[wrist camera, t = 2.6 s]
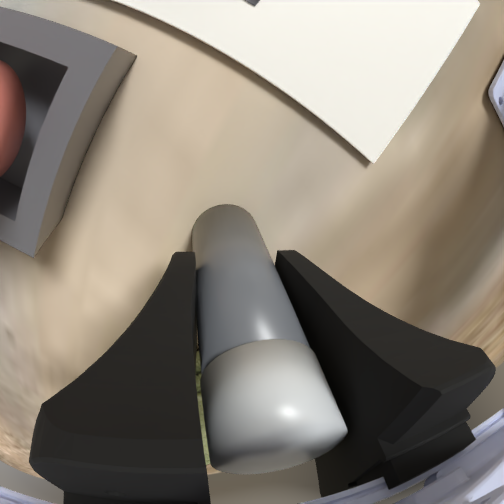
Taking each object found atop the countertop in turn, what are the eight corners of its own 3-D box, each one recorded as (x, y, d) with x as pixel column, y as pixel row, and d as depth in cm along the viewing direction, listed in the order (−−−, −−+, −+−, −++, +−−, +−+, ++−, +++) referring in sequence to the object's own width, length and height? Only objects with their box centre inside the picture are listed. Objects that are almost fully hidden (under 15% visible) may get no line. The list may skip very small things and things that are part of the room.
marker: (271, 222, 13) (373, 422, 5) (235, 272, 14) (288, 473, 6) (213, 191, 11) (266, 417, 4) (178, 247, 12) (186, 471, 5)
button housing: (137, 56, 8) (117, 46, 6) (62, 218, 11) (33, 257, 8) (4, 8, 5) (-38, -1, 3) (-49, 159, 8) (-88, 184, 5)
